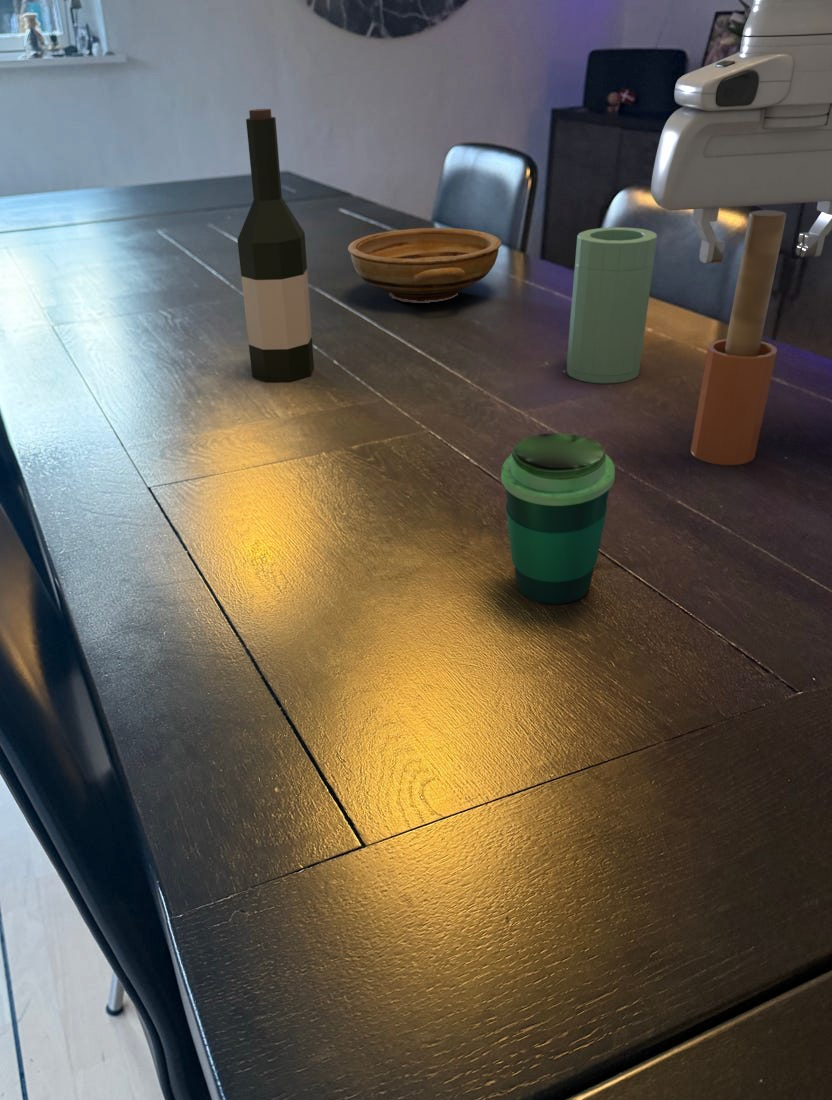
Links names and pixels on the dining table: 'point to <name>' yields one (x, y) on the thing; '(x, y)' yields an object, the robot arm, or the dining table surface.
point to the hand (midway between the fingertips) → (759, 258)
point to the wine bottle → (273, 267)
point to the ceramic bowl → (424, 261)
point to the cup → (556, 513)
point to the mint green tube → (610, 303)
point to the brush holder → (732, 404)
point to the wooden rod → (754, 282)
